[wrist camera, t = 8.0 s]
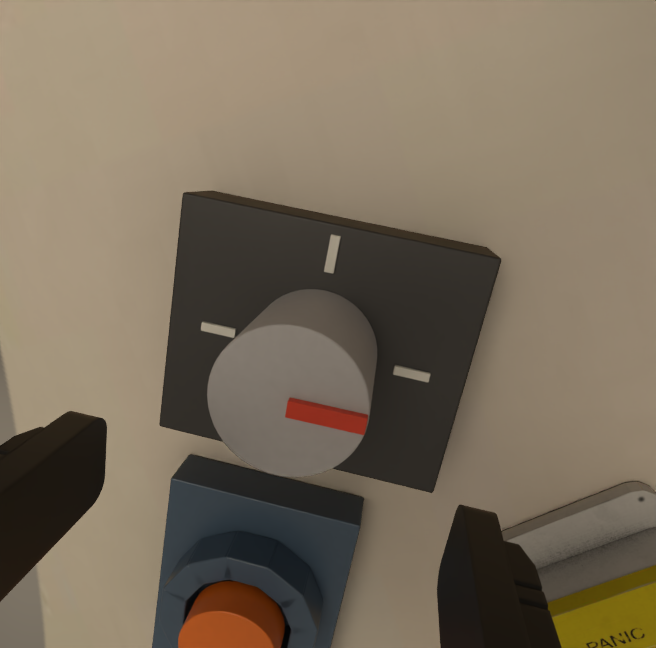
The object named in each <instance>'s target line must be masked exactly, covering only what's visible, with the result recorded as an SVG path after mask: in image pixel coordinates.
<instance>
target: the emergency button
mask: <svg viewBox="0 0 656 648" xmlns="http://www.w3.org/2000/svg"><path fill="white" fill-rule="evenodd" d="M502 536H503V540H504V541H507V542H511V543H515V544H519V545H520V546H521V548H522V549H523V550H524V552H525V553H526V554H527V555H528V557H529V558H530V559H531V561H532V562H533V563H534V564H535V566H536V569H537V572H538V575H539V579H540V582H541V585H542V592H544V594H545V597H546V600H547V603H548V610H549V611H550V613H551V616H552V619H553V622H554V625H555V628H556V631H557V635H558V638H559V641H560V644H561V647H562V648H656V493H655V492H654V491H653V490H652V488H651V487H650V486H649V485H646V484H643V483H640V482H638V481H636V482H628V483H624V484H621V485H618V486H616V487H613V488H611V489H608V490H606V491H603V492H601V493H598V494H596V495H593V496H591V497H588V498H585V499H583V500H580V501H578V502H575V503H573V504H570V505H568V506H565V507H563V508H560V509H558V510H555V511H553V512H550V513H547V514H545V515H542V516H540V517H537V518H535V519H532V520H530V521H527V522H525V523H522V524H520V525H517V526H514V527H512V528H509V529H507V530H504V531H502Z"/></svg>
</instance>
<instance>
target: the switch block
mask: <svg viewBox="0 0 656 648" xmlns="http://www.w3.org/2000/svg"><path fill="white" fill-rule="evenodd" d="M363 501H364V498H363V497H359V496H355V495H351V494H347V493H343V492H339V491H335V490H331V489H327V488H323V487H319V486H315V485H311V484H307V483H303V482H299V481H295V480H291V479H287V478H283V477H279V476H275V475H271V474H267V473H263V472H259V471H255V470H251V469H247V468H243V467H239V466H235V465H231V464H226V463H222V462H218V461H214V460H210V459H206V458H202V457H198V456H194V455H189V456H188V457H187V458H186V460H185V461H184V462H183V464H182V465H181V466H180V468H179V469H178V470H177V472H176V473H175V474H174V475H173V477H172V478H171V485H170V494H169V503H168V512H167V520H166V529H165V538H164V547H163V556H162V565H161V574H160V582H159V591H158V600H157V609H156V618H155V627H154V635H153V644H152V648H178V637H179V633H180V631H181V628H182V626H183V624H184V622H185V620H186V618H187V616H188V614H189V612H190V610H191V608H192V606H193V604H194V602H195V600H196V598H197V596H198V595H199V594H200V593H201V591H203V590H204V589H205V588H207V587H208V586H210V585H212V584H215V583H218V582H222V581H237V582H240V583H244V584H248V585H252V586H255V587H257V588H259V589H261V590H262V591H263V592H264V593H266V594H267V595H268V596H269V597H271V598H272V599H273V600H274V601H275V602H276V603H277V605H278V606H279V608H280V610H281V612H282V614H283V617H284V622H285V633H284V637H283V641H282V645H281V648H330V647H331V643H332V639H333V635H334V631H335V627H336V623H337V619H338V615H339V611H340V607H341V603H342V599H343V595H344V591H345V587H346V583H347V579H348V575H349V570H350V566H351V562H352V558H353V554H354V550H355V546H356V542H357V538H358V534H359V530H360V526H361V518H362V509H363Z"/></svg>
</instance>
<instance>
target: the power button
mask: <svg viewBox="0 0 656 648" xmlns="http://www.w3.org/2000/svg"><path fill="white" fill-rule="evenodd" d="M284 633H285V622H284V617H283V614H282V612H281V610H280V608H279V606H278V605H277V603H276V602H275V601H274V600H273V599H272V598H271V597H269V596H268V595H267V594H266V593H264V592H263V591H262V590H261V589H259V588H257V587H255V586H252V585H248V584H244V583H240V582H237V581H222V582H218V583H215V584H212V585H210V586H208V587H207V588H205V589H204V590H203V591H201V593H200V594H199V595H198V596H197V598H196V600H195V602H194V604H193V606H192V608H191V610H190V612H189V614H188V616H187V618H186V620H185V622H184V624H183V626H182V628H181V631H180V633H179V637H178V648H281V645H282V641H283V637H284Z"/></svg>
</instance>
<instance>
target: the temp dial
mask: <svg viewBox="0 0 656 648" xmlns="http://www.w3.org/2000/svg"><path fill="white" fill-rule="evenodd" d="M376 363H377V343H376V338H375V335H374V332H373V329H372V327H371V325H370V323H369V322H368V320H367V318H366V317H365V316H364V314H363V313H362V312H361V311H360V310H359V309H358V308H357V307H356V306H355V305H354V304H352V303H351V302H350V301H348V300H347V299H345V298H343V297H342V296H340V295H337V294H335V293H332V292H328V291H325V290H318V289H304V290H298V291H294V292H290V293H288V294H285V295H283V296H281V297H280V298H278V299H276V300H275V301H274V302H272V303H271V304H270V305H269V306H268V307H267V308H266V309H265V310H264V311H263V312H262V313H261V314H259V315H258V316H257V317H256V318H255V319H254V320H253V321H252V322H251V323H250V324H249V325H248V326H247V327H246V328H245V329H244V330H243V331H242V332H241V333H240V334H239V335H238V336H237V337H236V338H234V339H233V340H232V341H231V342H230V343H229V344H228V345H227V346H226V347H225V348H224V350H223V351H222V352H221V353H220V355H219V356H218V358H217V359H216V361H215V363H214V365H213V367H212V370H211V373H210V376H209V381H208V388H207V399H208V408H209V412H210V416H211V419H212V422H213V424H214V427H215V429H216V430H217V432H218V434H219V436H220V437H221V439H222V440H223V442H224V443H225V444H226V445H227V446H228V448H229V449H230V450H231V451H232V452H233V453H234V454H236V455H237V456H238V457H239V458H240V459H242V460H243V461H245V462H246V463H247V464H249V465H251V466H253V467H255V468H257V469H259V470H261V471H264V472H266V473H270V474H273V475H278V476H283V477H307V476H312V475H317V474H320V473H323V472H326V471H328V470H330V469H332V468H334V467H336V466H337V465H339V464H340V463H342V462H343V461H344V460H346V459H347V458H348V457H349V456H350V455H351V454H352V453H353V452H354V451H355V449H356V448H357V447H358V445H359V444H360V442H361V441H362V439H363V436H364V434H365V432H366V429H367V426H368V422H369V416H370V409H371V401H372V394H373V386H374V378H375V371H376Z"/></svg>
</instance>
